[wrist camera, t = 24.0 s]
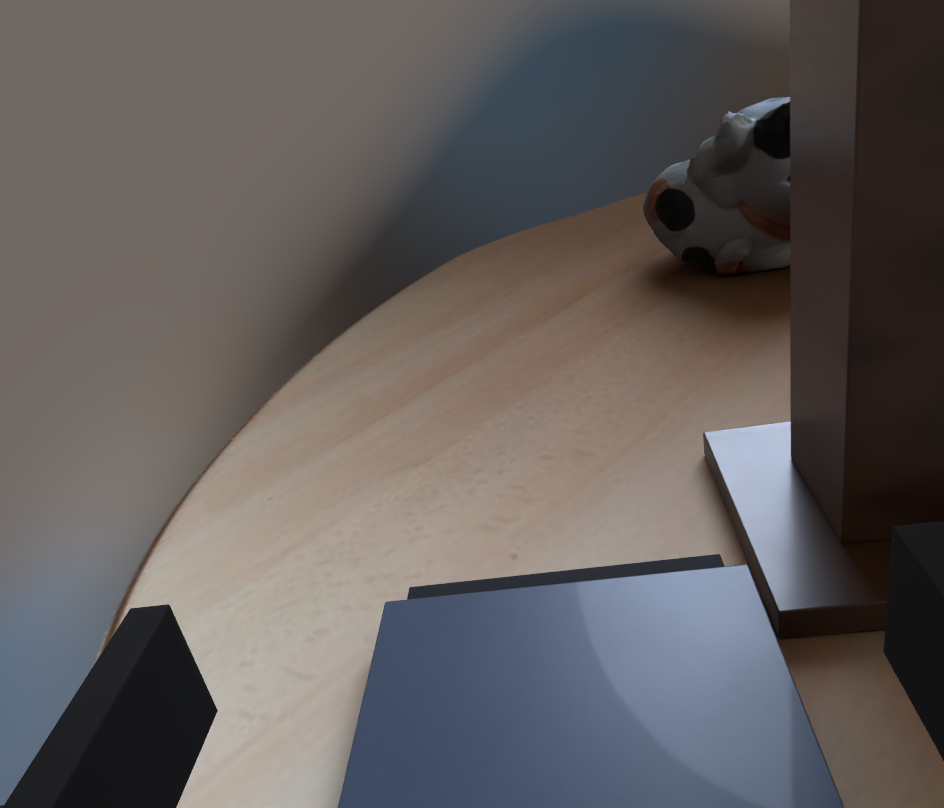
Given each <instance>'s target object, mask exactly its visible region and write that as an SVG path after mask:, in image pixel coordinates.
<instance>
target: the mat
mask: <svg viewBox="0 0 944 808" xmlns="http://www.w3.org/2000/svg"><path fill="white" fill-rule="evenodd" d="M718 567H724V564H723V561H722V559H721V556H720V555H719V554H716V555H707V556H698V557H688V558H679V559H670V560H660V561H651V562H642V563H632V564H623V565H614V566H604V567H595V568H586V569H576V570H567V571H558V572H548V573H539V574H530V575H520V576H511V577H502V578H492V579H483V580H474V581H464V582H455V583H446V584H436V585H427V586H418V587H410V588H409V593H408V599H407V600H409V599H419V598H429V597H438V596H448V595H458V594H467V593H477V592H487V591H496V590H506V589H515V588H525V587H535V586H544V585H554V584H564V583H573V582H583V581H593V580H602V579H612V578H621V577H631V576H641V575H650V574H660V573H670V572H679V571H689V570H699V569H708V568H718Z"/></svg>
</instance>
